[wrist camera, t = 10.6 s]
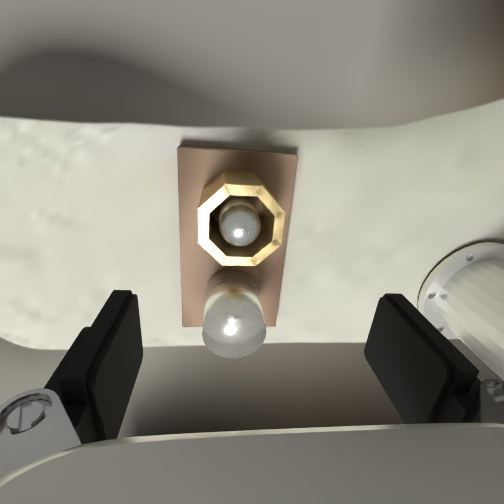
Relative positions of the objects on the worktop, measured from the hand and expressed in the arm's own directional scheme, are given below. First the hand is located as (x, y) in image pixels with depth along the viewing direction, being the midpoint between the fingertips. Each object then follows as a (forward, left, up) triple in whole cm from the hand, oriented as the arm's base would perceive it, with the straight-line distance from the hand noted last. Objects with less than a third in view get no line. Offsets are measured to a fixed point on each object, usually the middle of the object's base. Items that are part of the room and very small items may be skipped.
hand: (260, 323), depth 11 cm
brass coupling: (0, 0, -17) cm, 17 cm away
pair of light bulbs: (0, +5, -17) cm, 17 cm away
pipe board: (0, +4, -18) cm, 19 cm away
